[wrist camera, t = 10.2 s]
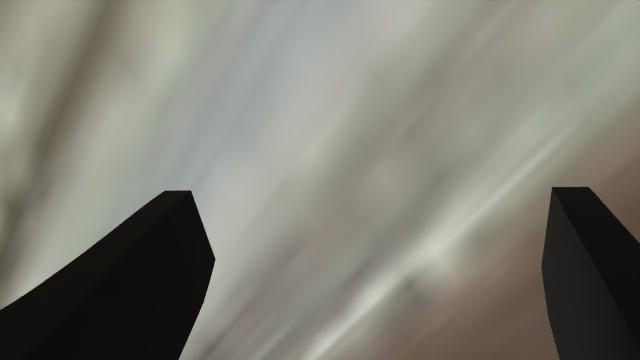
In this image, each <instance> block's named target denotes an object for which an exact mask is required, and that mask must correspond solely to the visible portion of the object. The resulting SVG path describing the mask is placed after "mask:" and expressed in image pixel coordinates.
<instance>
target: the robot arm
mask: <svg viewBox="0 0 640 360" xmlns="http://www.w3.org/2000/svg"><path fill="white" fill-rule="evenodd" d="M214 263H215V257H214V254H213V251H212V248H211V246H210V243H209V240H208V237H207V234H206V232H205V229H204V226H203V223H202V220H201V218H200V215H199V212H198V209H197V206H196V203H195V201H194V198H193V195H192V192H191V191H164V192H162V193H161V194H159V195H158V196H157V197H155V198H154V199H152V200H151V201H150V202H148V203H147V204H146V205H144V206H143V207H142V208H140V209H139V210H138V211H137V212H135V213H134V214H133V215H131V216H130V217H129V218H128V219H126V220H125V221H124V222H123V223H121V224H120V225H119V226H117V227H116V228H115V229H114V230H112V231H111V232H110V233H108V234H107V235H106V236H105V237H103V238H102V239H101V240H99V241H98V242H97V243H96V244H94V245H93V246H92V247H90V248H89V249H88V250H87V251H85V252H84V253H83V254H81V255H80V256H79V257H77V258H76V259H74V260H73V261H72V262H70V263H69V264H68V265H66V266H65V267H63V268H62V269H61V270H59V271H58V272H56V273H55V274H54V275H52V276H51V277H50V278H48V279H47V280H45V281H44V282H43V283H41V284H40V285H38V286H37V287H35V288H34V289H32V290H31V291H30V292H28V293H26V294H25V295H23V296H22V297H20V298H19V299H17V300H16V301H14V302H13V303H11V304H9V305H8V306H6V307H5V308H3V309H1V310H0V360H179V357H180V355H181V353H182V351H183V348H184V346H185V344H186V342H187V339H188V337H189V335H190V333H191V330H192V328H193V326H194V323H195V321H196V319H197V316H198V314H199V312H200V309H201V307H202V304H203V302H204V299H205V296H206V292H207V289H208V286H209V282H210V279H211V275H212V271H213V267H214ZM541 267H542V275H543V283H544V290H545V297H546V304H547V311H548V317H549V321H550V325H551V329H552V332H553V336H554V340H555V344H556V347H557V351H558V355H559V359H560V360H640V243H639V242H638V241H637V240H636V239H635V238H634V236H633V235H632V234H631V233H630V232H629V231H628V230H627V229H626V228H625V227H624V226H623V224H622V223H621V222H620V221H619V220H618V219H617V218H616V217H615V216H614V214H613V213H612V212H611V211H610V210H609V209H608V208H607V207H606V205H605V204H604V203H603V202H602V201H601V200H600V199H599V198H598V196H597V195H596V194H595V193H594V192H593V191H592V190H591V189H590V188H589V187H552V192H551V199H550V207H549V214H548V222H547V229H546V237H545V244H544V251H543V259H542V266H541Z"/></svg>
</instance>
